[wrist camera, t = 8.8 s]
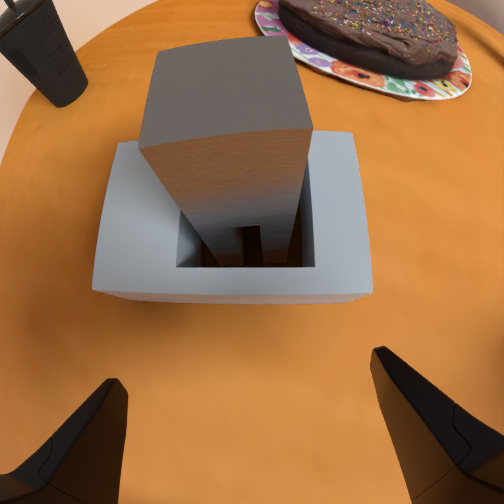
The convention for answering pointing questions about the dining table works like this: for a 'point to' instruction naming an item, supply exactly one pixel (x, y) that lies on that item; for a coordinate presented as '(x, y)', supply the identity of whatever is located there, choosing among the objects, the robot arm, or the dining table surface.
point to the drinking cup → (41, 50)
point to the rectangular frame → (234, 279)
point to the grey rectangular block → (230, 140)
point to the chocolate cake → (373, 44)
